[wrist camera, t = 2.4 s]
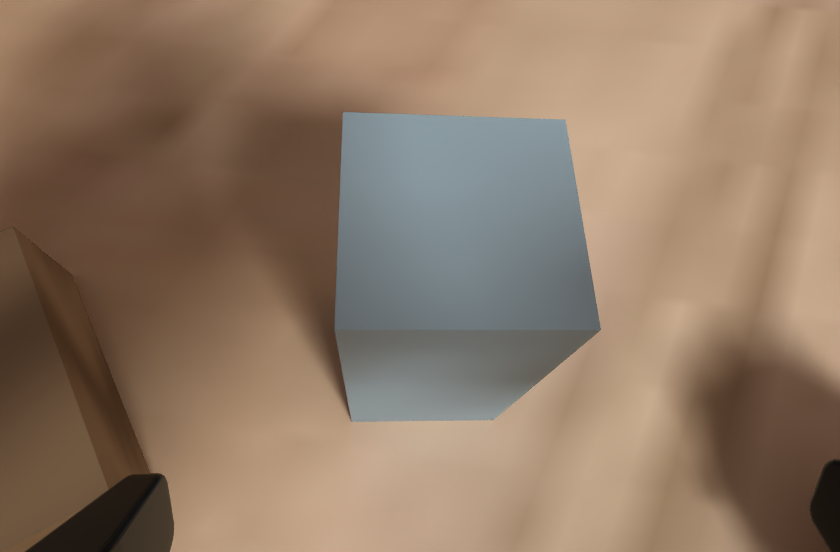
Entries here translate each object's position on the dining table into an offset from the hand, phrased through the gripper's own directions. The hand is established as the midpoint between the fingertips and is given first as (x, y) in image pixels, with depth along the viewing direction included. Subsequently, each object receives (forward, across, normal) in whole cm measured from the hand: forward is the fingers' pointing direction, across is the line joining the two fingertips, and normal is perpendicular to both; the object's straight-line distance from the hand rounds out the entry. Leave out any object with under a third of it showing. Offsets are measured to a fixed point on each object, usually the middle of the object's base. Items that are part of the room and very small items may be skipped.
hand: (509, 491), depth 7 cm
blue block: (+12, 0, +5) cm, 13 cm away
